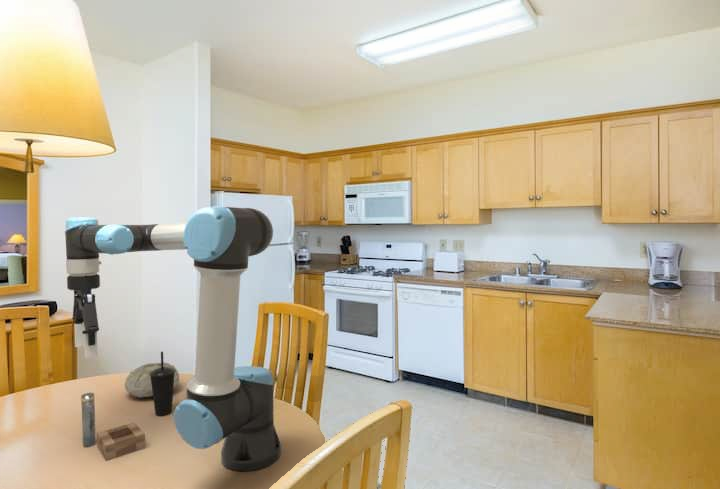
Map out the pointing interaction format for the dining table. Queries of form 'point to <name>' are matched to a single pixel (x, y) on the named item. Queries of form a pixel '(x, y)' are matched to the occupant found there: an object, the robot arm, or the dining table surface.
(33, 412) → the dining table surface
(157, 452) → the dining table surface
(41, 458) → the dining table surface
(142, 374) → the grey rounded lump
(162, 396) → the drinking cup
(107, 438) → the square wooden frame
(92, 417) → the metal cylinder
